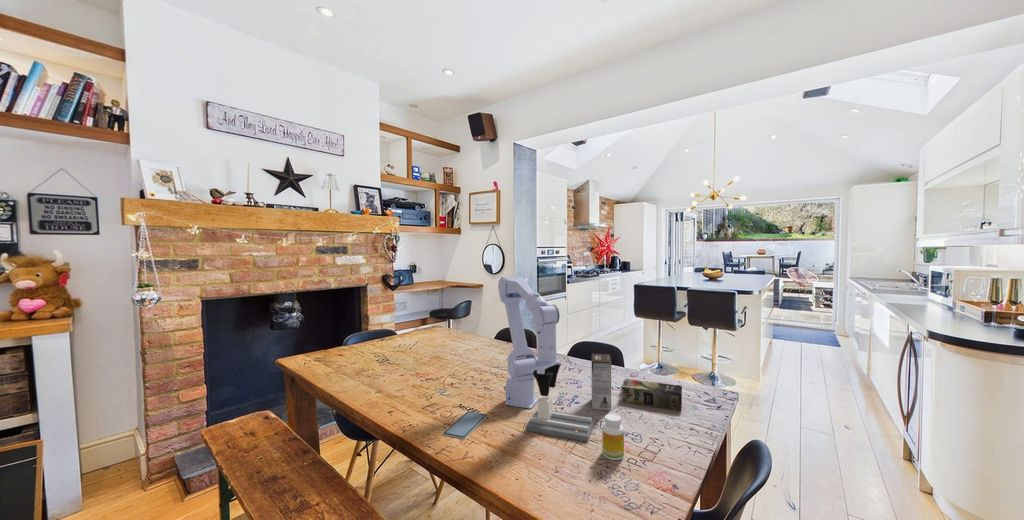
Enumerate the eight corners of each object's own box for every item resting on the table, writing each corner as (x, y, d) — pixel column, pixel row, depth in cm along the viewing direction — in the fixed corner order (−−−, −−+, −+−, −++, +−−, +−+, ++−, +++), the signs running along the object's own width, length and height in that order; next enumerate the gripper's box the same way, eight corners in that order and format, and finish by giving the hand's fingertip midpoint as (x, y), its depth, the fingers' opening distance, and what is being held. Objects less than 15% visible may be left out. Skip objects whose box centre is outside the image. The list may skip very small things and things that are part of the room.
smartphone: (441, 433, 105) (467, 410, 119) (441, 436, 105) (467, 413, 119) (464, 438, 102) (488, 414, 116) (464, 441, 102) (488, 417, 116)
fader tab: (537, 419, 109) (537, 400, 109) (541, 414, 113) (541, 395, 113) (548, 421, 108) (548, 402, 108) (552, 415, 112) (551, 397, 112)
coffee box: (591, 398, 129) (591, 353, 129) (610, 399, 128) (610, 354, 127) (591, 409, 120) (591, 360, 120) (612, 411, 119) (611, 362, 118)
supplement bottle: (626, 460, 91) (626, 422, 91) (604, 460, 91) (604, 422, 91) (620, 449, 96) (620, 412, 96) (600, 449, 96) (599, 412, 96)
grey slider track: (525, 430, 106) (525, 422, 106) (538, 413, 118) (538, 405, 117) (588, 442, 100) (588, 433, 100) (594, 422, 111) (594, 414, 111)
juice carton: (617, 401, 126) (617, 384, 126) (621, 392, 135) (622, 375, 135) (681, 413, 118) (681, 394, 118) (681, 401, 127) (682, 384, 127)
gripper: (553, 352, 102) (555, 401, 101) (565, 341, 115) (566, 384, 115) (529, 350, 104) (530, 398, 104) (543, 340, 118) (544, 382, 118)
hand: (548, 391), depth 110 cm, fingers open, 7 cm apart
